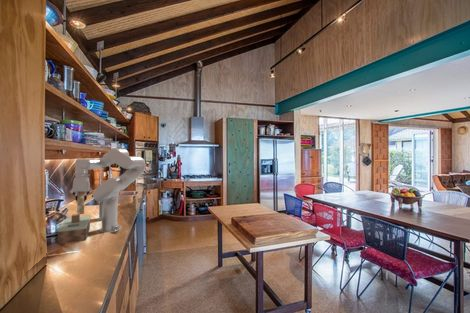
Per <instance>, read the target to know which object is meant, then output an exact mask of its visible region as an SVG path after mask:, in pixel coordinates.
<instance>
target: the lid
mask: <svg viewBox="0 0 470 313" xmlns="http://www.w3.org/2000/svg"><path fill="white" fill-rule="evenodd" d="M89 220H90V221H91V215H90V216H89V215H87V216H81V214H77V213H75V214H74V213H73V214H72V215H71V217H65V219H64V220H63V222H62V223H61V225H59V227H58V228H57V233H58V232H61V231H70V230H79V229H86V228H87V225H88V223H89Z"/></svg>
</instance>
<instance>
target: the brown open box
mask: <svg viewBox="0 0 470 313" xmlns="http://www.w3.org/2000/svg"><path fill="white" fill-rule="evenodd" d="M90 229H91V219H90V220H89V223H88V225H87V228H86V229H79V230H70V231H61V232H58V231H57V245H58V244H59V245H60V244H68V243H76V242H82V241H86V240H87V238H88V236H89V232H90Z"/></svg>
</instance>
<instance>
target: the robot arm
mask: <svg viewBox="0 0 470 313" xmlns="http://www.w3.org/2000/svg"><path fill="white" fill-rule="evenodd" d="M113 164H116V165H118V166H119V167H121V168H123V169H126V171H124V173H122V174H120V176H116V177H115V176H114V177H110V178H107V179H106V180H105V181H104V182H102V183H101V184H100V185H98V186H97V187H96V188H95V189H94V191H93V189H92V187H91V184H90V182H91V181H90V177H91V173H90V174H89V170H99V169H102V168H107V167H110V166H111V165H113ZM145 170H146V161H145V159H144V158H143V157H141V156H139V155H135V156H134V155H132V156H131V155H130V153H129V151H128V150H127V149H125V148H117V147H115V148H112V149H110V150H109V151H108V152H105V153H104V154H103V156H102V157H100V158H77V159H76V160H75V170H74V171H75V174H74V176H75V177H74V178H73V183H72V188H71V189H70V190H69V193H70V194H72V195H73V196H74V197H75V198H74V199H75V202H76V203H77V197H78V195H79V193H83V192H84V193H83V194H85V196H84V201H85V202H86V201H87V200H88V199H87V198H88V195H89V194H90V193H92V192H93V194H92V197H93V199H94V200H95V201H96V202H98V203H99V202H101V201H103V205H102V220H101V228H100V229H98V230H99V232H101V233H110V234H112V233H115V232H116V233H117V232H118V231H119V230H122V225H119V222H118V203H119V202H118V201H119V197H120V191H123V190H125V189H126V188H127V187H129V186H130V185H131V184H133V183H134V182H135V181H136V180H137V179H138V178H140V177H141V176H142V175H143V173H144V172H145Z"/></svg>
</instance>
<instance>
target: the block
mask: <svg viewBox="0 0 470 313" xmlns="http://www.w3.org/2000/svg"><path fill="white" fill-rule="evenodd" d="M84 196H85V193H82V194H78V197H77V202H76V203H77V204H76V209H77V211H76V214H80V215H84V214H85V208H86V207H85V206H86V205H85V204H86V203H85V202H86V201H84Z"/></svg>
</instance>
